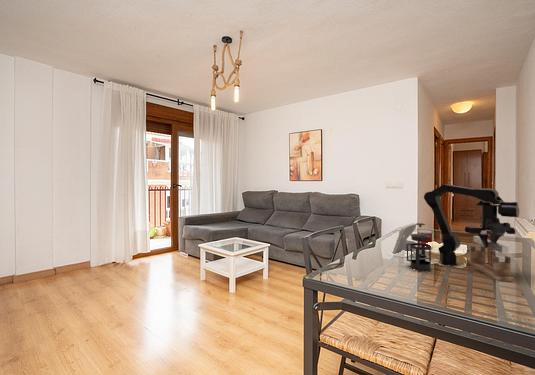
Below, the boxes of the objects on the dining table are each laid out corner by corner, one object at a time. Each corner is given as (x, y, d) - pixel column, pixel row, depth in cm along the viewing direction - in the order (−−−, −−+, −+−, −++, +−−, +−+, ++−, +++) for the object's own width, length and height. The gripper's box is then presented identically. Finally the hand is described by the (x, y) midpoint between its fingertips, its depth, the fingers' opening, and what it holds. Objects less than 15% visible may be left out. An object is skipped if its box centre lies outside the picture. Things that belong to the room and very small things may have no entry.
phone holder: (400, 249, 176) (400, 221, 176) (417, 252, 169) (417, 222, 168) (387, 254, 165) (386, 224, 165) (404, 258, 158) (404, 226, 157)
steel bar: (502, 253, 121) (502, 247, 121) (473, 241, 143) (473, 235, 143) (508, 253, 121) (508, 247, 121) (478, 241, 143) (478, 236, 143)
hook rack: (498, 281, 121) (498, 258, 121) (467, 263, 145) (467, 244, 144) (514, 281, 120) (514, 259, 120) (481, 264, 144) (481, 245, 143)
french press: (435, 268, 140) (435, 223, 139) (429, 273, 133) (429, 226, 132) (410, 263, 148) (410, 220, 147) (403, 268, 141) (403, 223, 140)
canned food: (434, 249, 172) (434, 232, 172) (421, 250, 172) (421, 232, 172) (427, 246, 180) (427, 229, 179) (415, 247, 180) (415, 230, 180)
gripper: (477, 218, 125) (477, 252, 126) (524, 217, 122) (524, 252, 123) (464, 214, 136) (464, 246, 137) (507, 214, 133) (506, 246, 134)
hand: (489, 247), depth 132 cm, fingers closed on steel bar, 2 cm apart
